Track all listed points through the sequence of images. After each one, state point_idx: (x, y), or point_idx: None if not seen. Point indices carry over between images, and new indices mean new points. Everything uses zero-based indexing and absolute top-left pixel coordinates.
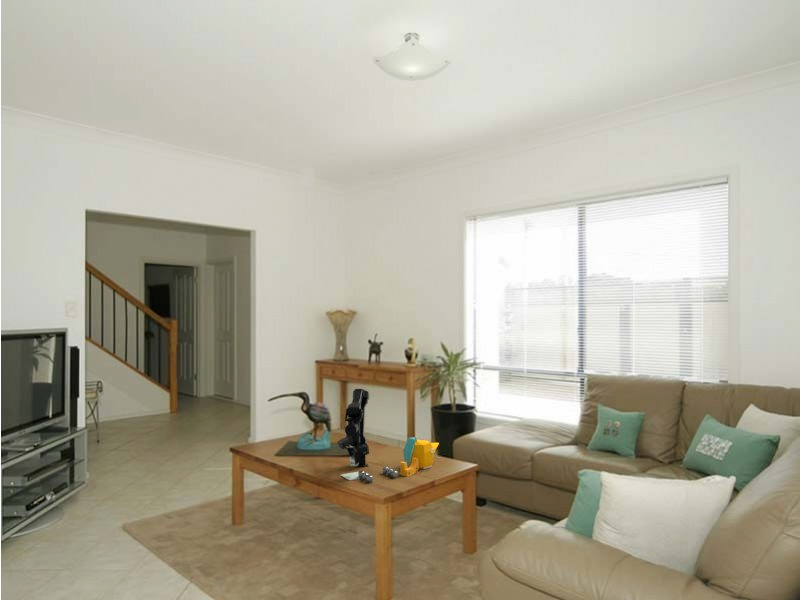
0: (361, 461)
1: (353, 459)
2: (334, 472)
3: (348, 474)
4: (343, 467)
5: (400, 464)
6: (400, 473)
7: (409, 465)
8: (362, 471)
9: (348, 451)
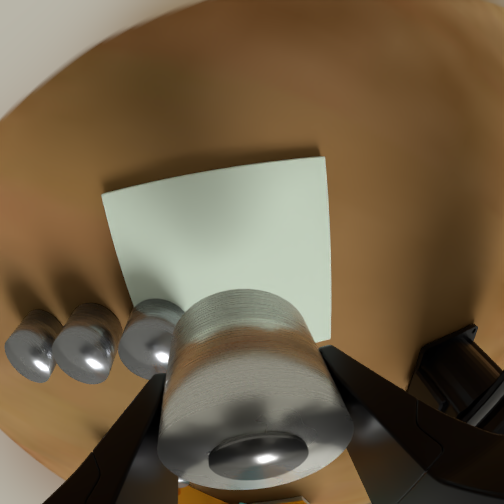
0: (429, 392)
1: (162, 415)
2: (432, 151)
3: (294, 237)
4: (478, 263)
5: None
6: None
7: (284, 500)
8: (161, 366)
9: (455, 465)
